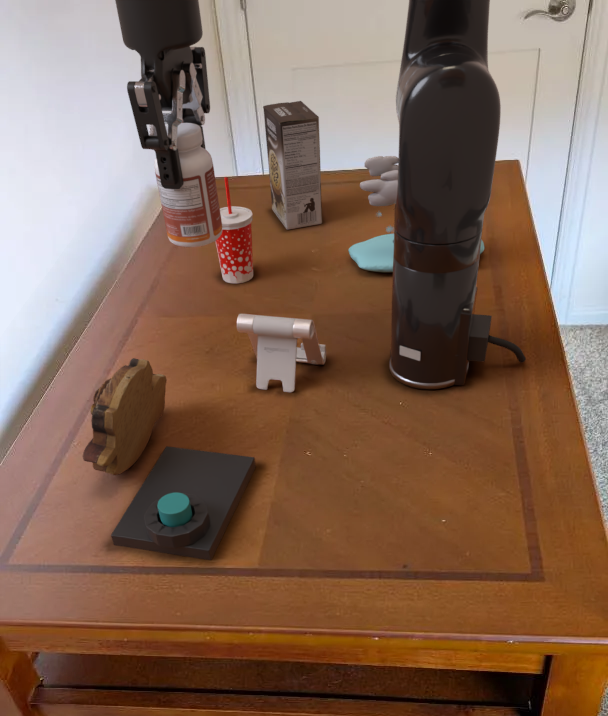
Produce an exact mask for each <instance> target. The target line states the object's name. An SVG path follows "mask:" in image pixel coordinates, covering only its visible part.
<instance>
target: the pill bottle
mask: <svg viewBox="0 0 608 716" xmlns="http://www.w3.org/2000/svg"><path fill="white" fill-rule="evenodd" d="M165 126H166V131H167V135H168V124H166V125H165ZM202 140H203V138H202V133H201V128H200V126H199V125H197V124H193V123H181V124H180V125H178V127H177V149H178V152H179V158H180V164H181V170H182V176H183V182H184V183H183V186H182V187H181V188H180V189H165V188H163V187H162V185H161V180H160V175H159V169H158V164H157V159H156V158H155V159H154V163H153V168H154V174H155V179H156V184H157V188H158V189H157V190H158V194H159V200H160V203H161V204H160V205H161V210H162V214H163V220H164V224H165V230H166V234H167V239H168V240H169V242H170V243H171V244H173V245H175V246H178V247H183V248H199V247H204V246H209V245H210V244H212V243H214V242H215V241H216V240H217V239H218V238H219V237H220V236H221V234H222V221H221V214H220V208H221V207H220V202H219V195H218V189H217V182H216V175H215V168H214V167H215V166H214V161H213V157H212V155H211V153H210V152H209V151H208V150H207V149H204V148H202V147H201V145H202Z"/></svg>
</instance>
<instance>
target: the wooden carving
mask: <svg viewBox="0 0 608 716" xmlns="http://www.w3.org/2000/svg"><path fill="white" fill-rule="evenodd" d="M166 386H167V376H166V375H165V374H162V373H157V374H156V373H154V372H153V367H152V365H151V363H150V361H149V360H148V359H144V358H135V357H132V358H131V359H130V361H129V364H128V365H127V364H125V365H123V366H121V367H120V368H119V369H118V370H116V371H115V372H114V373H113V375H112V377H110V378H108V379H106V380H105V381H104V382H103V383H102V384H101V386H100V387H98V388H97V389H96V390H95V392H94V394H93V400H92V401H93V403H92V405H90V414H91V421H90V423H91V428H92V439H91V440H90V441H89V442H88V443H87V445H86V446H85V448H84V449H83V452H82V459H83V461H84V462H87V463H91V464H92V468H93V470H95V471H98V472H104V473H106V474H109V475H112V476H117V475H121V474H122V473H124V472H126V471H128V470H129V469H130V468H132V467H133V466H134V464H135V463H136V462H137V461H138V460H139V458H140V457H141V455H142V454H143V452H144V450H145V449H146V447H147V445H148V443H149V440H150V438H151V436H152V433H153V429H154V427H155V425H156V422H157V421H159V420H160V419H161V418H162V415H163V414H164V412H165V409H166V408H165V406H166V392H167V391H166Z"/></svg>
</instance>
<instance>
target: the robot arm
mask: <svg viewBox="0 0 608 716" xmlns="http://www.w3.org/2000/svg"><path fill="white" fill-rule="evenodd" d="M114 2H115V4H116V5H115V6H116V11H117V17H118V22H119V27H120V31H121V37H122V42H123V44H124V46H125V47H126V48H128V49H129V50H131V51H135V52H137V54H138V55H139V56H140V76H141V77H140V79H139V80H138V81H132V80H130V81H129V80H128V82H127V84H126V90H127V91H126V92H127V95H128V100H129V103H130V108H131V111H132V115H133V119H134V123H135V127H136V132H137V135H138V139H139V142H140V146H141V148H142V149H143V150H152V151H154V152H155V153H154V154H155V159H157V164H158V169H159V175H160V180H161V185H162V187H163V188H165V189H180V188H181V187H182V186H183V183H184V182H183V176H182V170H181V164H180V158H179V152H178V149H177V127H178V125H180V124H181V123H193V124H197V125H199V126H200V128H201V133H202V138H203V140H202V145H201V147H202V148H204V149H206V142H205V134H204V127H203V126H204V125H205V124H206V115H205V114H210V111H211V101H210V90H209V78H208V69H207V55H206V50H205V47H203V46H193V45H196V44H198V43H199V42H200V41H201V40H202V38H203V25H202V24H203V23H202V17H201V9H200V1H199V0H115V1H114ZM490 3H491V0H408V6H407V15H406V25H405V32H404V39H403V46H402V53H401V60H400V67H399V72H398V73H399V74H398V80H397V86H396V91H395V92H396V93H395V111H396V115H397V116H396V117H397V121H398V125H399V126H398V156H397V157H398V164H397V165H398V187H397V198H396V202H395V203H394V215H393V216H394V218H393V219H394V221H393V227H394V228H393V231H394V232H393V234H394V251H393V272H392V284H391V285H392V287H391V289H392V290H391V321H390V322H391V323H390V324H391V326H390V350H389V357H390V358H389V369H388V370H389V372H390V374H391V376H392V377H393V378H394V379H395V380H396V381H398V382H399V383H400V384H403V385H405V386H408V387H411V388H415V389H421V390H439V389H440V390H441V389H445V388H449V387H452V386H464V385H465V383H466V378H467V375H468V372H469V366H470V365H469V364H470V361H472V362H483V363H485V362H486V357H487V351H488V346H489V344H492V345H494V346H498V347H502V348H505V349H507V350H509V351H511V352H512V353H513V354H514V355H515V357H516V359H517V361H518V362H519V364H522V363H525V362H526V360H527V359H526V356H525V354H524V352H523V349H521V348H520V346H518V345H517V344H515V343H514V342H512V341H509V340H506V339H503V338H500V337H497V336H493V335H491V334H490V332H491V325H492V317H493V315H488V314H476V306H477V297H478V296H477V295H478V286H477V284H478V275H479V264H480V256H481V254H480V248H481V239H482V237H483V228H484V220H485V215H486V211H487V209H488V206H489V203H490V200H491V195H492V191H493V190H492V188H493V182H494V174H495V167H496V161H497V151H498V145H499V136H500V128H501V126H500V125H501V114H502V113H501V107H502V105H501V96H500V92H499V88H498V86H497V83H496V82H495V79H494V78H493V76H492V74H491V72H490V70H489V53H488V52H489V50H488V49H489V23H490V22H489V21H490ZM163 112H164V113H163ZM166 112H167V113H166ZM148 125H149V129H148ZM167 125H168V135H167V131H166V126H167ZM206 150H207V149H206ZM482 240H483V239H482Z"/></svg>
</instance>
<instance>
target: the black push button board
mask: <svg viewBox="0 0 608 716" xmlns="http://www.w3.org/2000/svg"><path fill="white" fill-rule="evenodd" d="M256 467H257V466H256V458H255V456H247V455H238V454H232V453H231V454H230V453H223V452H216V451H208V450H199V449H193V448H191V449H190V448H183V447H175V446H167V445H166V446H165V448H164V449H163V451H162V452H161V454H160V455H159V457H158V459H157V460H156V462H155V464H154V465H153V467H152V468H151V470H150V472H149V473H148V475H147V476H146V478H145V479H144V480H143V483H142V484H141V485H140V488H139V489H138V491H137V492H136V494H135V495H134V498H132V500H131V501H130V504H129V505H128V506H127V508H126V510H125V511H124V513H123V514H122V516H121V518H120V520H119V521H118V522H117V524H116V526H115V527H114V529H113V531H112V533H111V534H110V538H111V541H112V544H113V545H114V546H119V547H124V548H130V549H137V550H143V551H148V552H149V551H151V552H155V553H162V554H169V555H173V556H174V555H175V556H182V557H186V558H187V557H188V558H194V559H200V560H205V561H212V560H213V558H214V555H215V553H216V551H217V549H218V547H219V545H220V543H221V540H222V539H223V536H224V534H225V532H226V531H227V529H228V526H229V524H230V522H231V520H232V517H233V516H234V514H235V512H236V510H237V508H238V506H239V503H240V502H241V499H242V497H243V496H244V493H245V491H246V488H247V487H248V484H249V482H250V480H251V478H252V477H253V474H254V472H255V470H256ZM170 493H182V494H185V495H186V496H187V497H188V498H189V500H190V505H191V510H192V518H191V520H190V521H189V522H188V523H186V524H185V525H183V526H178V527H168V526H166V525H164V524H163V523H162V522H161V519H160V515H159V511H158V507H157V504H158V501H159V500H160V499H161V498H162V497H163V496H165V495H167V494H170Z"/></svg>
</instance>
